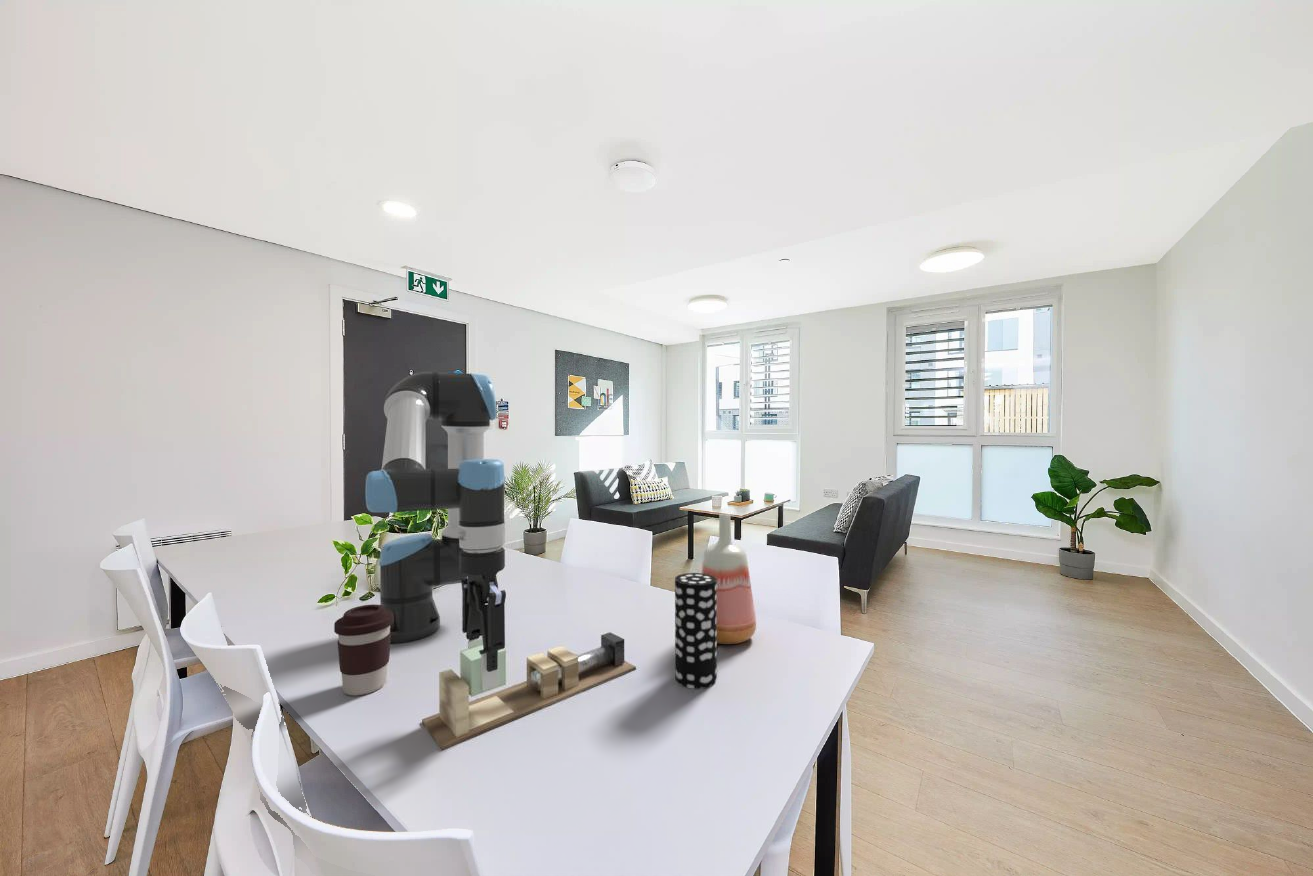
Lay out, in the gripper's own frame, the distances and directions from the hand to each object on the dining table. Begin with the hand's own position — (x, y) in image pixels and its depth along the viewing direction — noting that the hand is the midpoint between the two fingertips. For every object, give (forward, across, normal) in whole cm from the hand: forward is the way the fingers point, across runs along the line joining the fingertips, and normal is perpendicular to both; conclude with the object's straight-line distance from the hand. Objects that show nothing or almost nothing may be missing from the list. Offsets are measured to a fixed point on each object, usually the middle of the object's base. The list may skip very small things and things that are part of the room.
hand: (482, 681), depth 85 cm
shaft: (+5, 0, +20) cm, 20 cm away
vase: (+6, +7, +57) cm, 58 cm away
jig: (+6, 0, +11) cm, 13 cm away
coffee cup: (+6, -25, -13) cm, 29 cm away
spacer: (+1, 0, 0) cm, 1 cm away
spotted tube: (+6, +16, +37) cm, 41 cm away
